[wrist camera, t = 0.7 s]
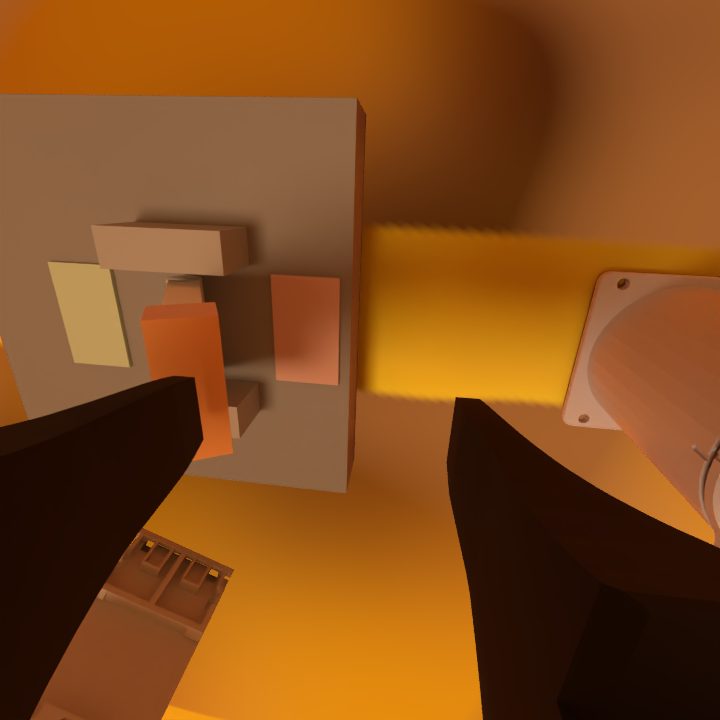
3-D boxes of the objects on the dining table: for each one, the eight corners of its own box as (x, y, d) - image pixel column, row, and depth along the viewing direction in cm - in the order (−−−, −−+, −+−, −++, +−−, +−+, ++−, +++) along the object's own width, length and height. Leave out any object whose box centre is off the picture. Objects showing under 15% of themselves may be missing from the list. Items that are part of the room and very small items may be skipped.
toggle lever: (208, 271, 17) (218, 315, 11) (219, 370, 19) (233, 453, 13) (158, 273, 17) (140, 320, 11) (174, 376, 18) (167, 465, 12)
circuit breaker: (104, 632, 34) (-106, 927, 20) (139, 527, 28) (-118, 835, 15) (183, 666, 34) (31, 977, 21) (234, 569, 29) (71, 907, 15)
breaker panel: (366, 114, 17) (346, 77, 12) (353, 459, 24) (338, 529, 19) (-9, 108, 19) (-166, 74, 14) (81, 430, 26) (0, 487, 20)
